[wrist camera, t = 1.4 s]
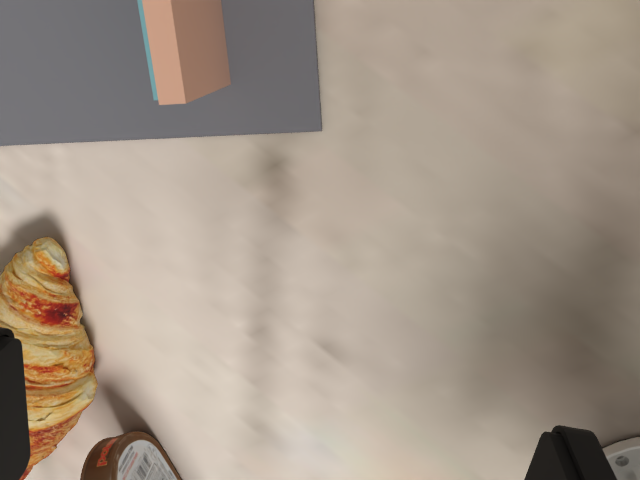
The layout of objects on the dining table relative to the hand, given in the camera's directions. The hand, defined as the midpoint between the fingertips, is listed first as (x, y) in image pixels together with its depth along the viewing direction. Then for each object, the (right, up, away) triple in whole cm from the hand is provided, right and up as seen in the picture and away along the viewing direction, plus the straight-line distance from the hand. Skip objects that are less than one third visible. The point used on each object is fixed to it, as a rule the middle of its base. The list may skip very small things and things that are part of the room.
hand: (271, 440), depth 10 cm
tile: (-5, +16, +22) cm, 28 cm away
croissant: (-20, -5, +33) cm, 39 cm away
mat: (-10, +17, +23) cm, 30 cm away
